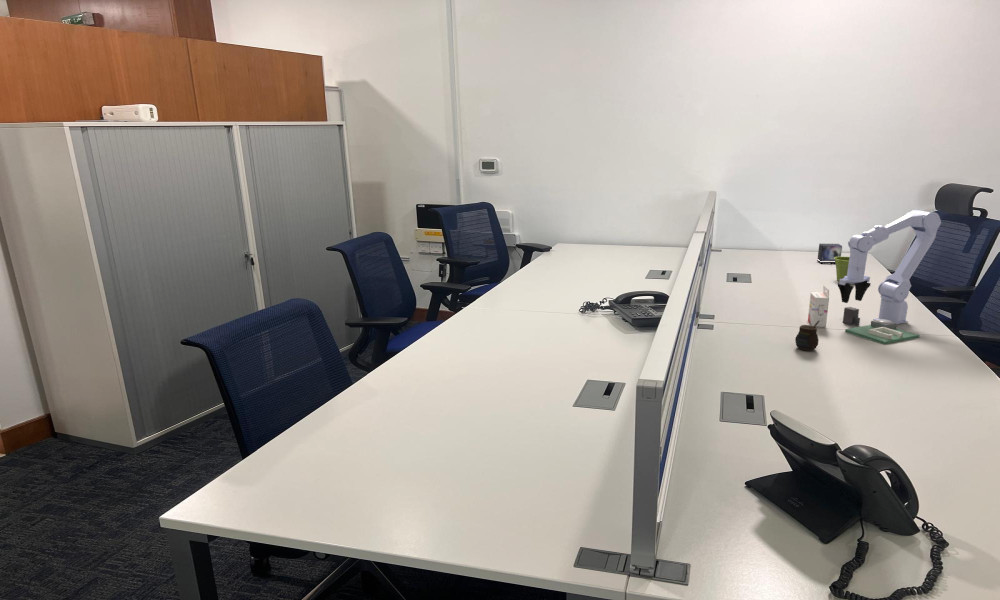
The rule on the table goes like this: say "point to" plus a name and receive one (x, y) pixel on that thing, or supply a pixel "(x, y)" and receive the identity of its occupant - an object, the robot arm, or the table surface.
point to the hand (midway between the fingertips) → (851, 301)
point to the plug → (851, 316)
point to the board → (882, 332)
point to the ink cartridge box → (818, 308)
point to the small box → (829, 252)
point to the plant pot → (841, 266)
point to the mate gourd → (807, 337)
